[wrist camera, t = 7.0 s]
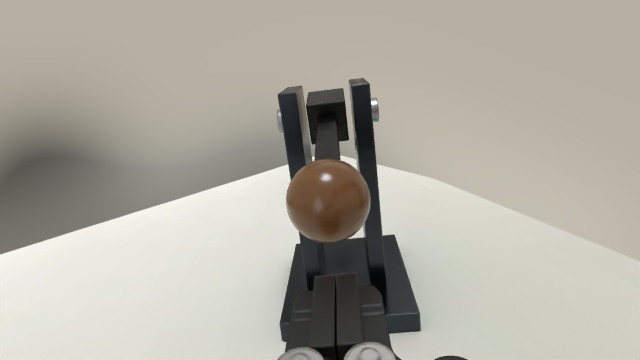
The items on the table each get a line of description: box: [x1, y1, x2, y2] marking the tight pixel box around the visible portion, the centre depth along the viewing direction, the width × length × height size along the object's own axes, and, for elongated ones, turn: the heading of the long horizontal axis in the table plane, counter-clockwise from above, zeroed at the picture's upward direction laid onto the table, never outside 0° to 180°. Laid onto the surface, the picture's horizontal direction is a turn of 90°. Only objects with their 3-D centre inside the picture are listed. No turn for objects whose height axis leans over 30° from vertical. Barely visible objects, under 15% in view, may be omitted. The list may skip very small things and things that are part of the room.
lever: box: [286, 88, 370, 243], centre depth 19 cm, size 13×3×3 cm, turn 178°
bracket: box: [277, 78, 421, 341], centre depth 25 cm, size 10×8×14 cm
